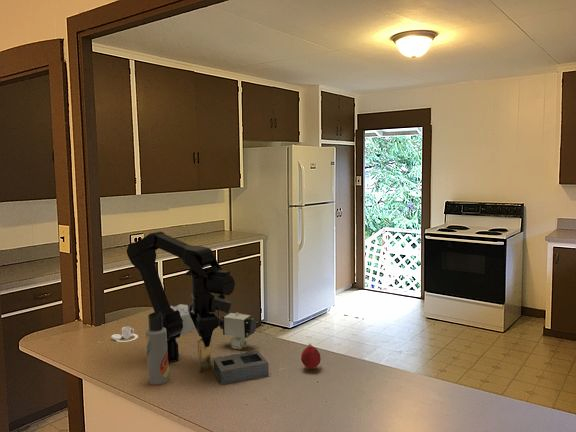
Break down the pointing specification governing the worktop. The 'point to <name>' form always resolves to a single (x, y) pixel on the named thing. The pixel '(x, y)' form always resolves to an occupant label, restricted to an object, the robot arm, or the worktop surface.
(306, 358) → the onion
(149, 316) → the lotion bottle
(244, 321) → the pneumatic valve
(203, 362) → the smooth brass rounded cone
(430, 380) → the worktop surface
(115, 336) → the teacup and saucer
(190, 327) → the lumpy-topped squat cylinder
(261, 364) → the socket block
